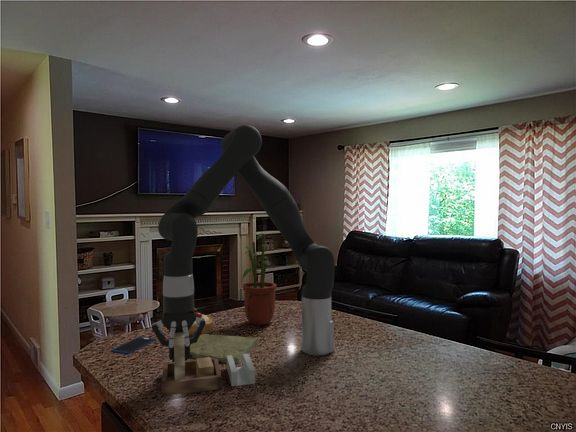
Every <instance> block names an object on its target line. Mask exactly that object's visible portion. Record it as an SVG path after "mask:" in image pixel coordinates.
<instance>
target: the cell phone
mask: <svg viewBox="0 0 576 432" xmlns="http://www.w3.org/2000/svg"><path fill="white" fill-rule="evenodd" d="M155 341H157V339H156V338H153V337H152V338H151V337H144V336H138V337H136V338H133V339H131V340H129V341H127V342H125V343H123V344H120V345H119V346H117V347H115V348H112V349H111V350H110V353H115V354H121V355H130V354H131V355H132V354H133V353H134V352H137V351H138V350H141V349H142V348H145V347H146V346H148V345H150V344H152V343H154V342H155Z"/></svg>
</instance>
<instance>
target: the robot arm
mask: <svg viewBox="0 0 576 432" xmlns="http://www.w3.org/2000/svg"><path fill="white" fill-rule="evenodd" d="M262 144H263V140H262V135H261V133H260V132H259V130H258V129H257V128H256V127H254V126H252V125H249V124H242V125H241V126H240V125H239V126H237V127H236V128H234V129H233V130H230V132H227V134H226V135H225V136H223V138H222V140H221V150H222V154H221V155H220V157H218V159H216V161H215V162H213V164H212V165H211V166H209V168H208V169H206V170H205V172H203V174H201V176H200V177H198V178H197V180H196V181H195V182H194V183H193V184H192V186H191V187H190V188H189V189H188V191H187V192H186V193H185V195H184V196H183V197H182V198H180V199H179V200H178V201H177V202H176V203H174V204H173V205H172V206H171V207H170V208H168V210H166V212H165V213H164V214H163V215H162V216H161V217H160V220H159V222H158V227H157V230H158V233H159V235H160V237H161V238H163V239H164V240H166V241H171V246H170V251H167V252H165V254H164V256H163V281H162V301H163V302H162V306H163V307H162V312H163V314H162V316H161V319H160V320H158V321H157V322H153V323H152V325H151V330H152V332H153V333H154V335H155V336H156V338H157V339H158V340H157V341H159V343H160V345H161V346H162V347H168V358H169V360H170V361H171V362H174V334H175V333H177V332H183V333H184V344H185V361H187V360H188V359H190V358H191V357H190V345H191V344H193V343H196V342H197V340H198V338H199V336H200V334H201V332H202V330H203V328H204V326H205V324H206V322H205V319H204V318H202V319H200V318H198V317H196V314H195V309H194V308H195V282H194V274H193V273H194V272H193V271H194V270H193V269H194V268H193V266H194V265H193V256H194V253H195V249H196V244H197V240H198V239H197V238H198V233H199V231H198V230H199V229H198V225H197V221H196V218H198V217H200V216H204V215H205V214H206V213H207V212H208V211H209V210H210V208H211V206H213V204H214V203H215V202H216V201H217V199H218V198H219V196H220V195H221V193H222V192H223V191H224V190H225V188H226V186H228V184H229V183H230V181H231V180H232V179H233V178H234V177H235V175H236V174H237V173H238V174H239V175H240V176H241V178H243V180H244V181H245V183H246V184H247V186H248V187H249V189H250V190H251V192H252V193H253V195H254V196H255V197H256V199H257V201H258V202H259V204H260V206H261V207H262V209H263V210H264V211H265V213H266V214H267V216H268V217H269V219H270V220H271V221H272V223H273V225H274V226H275V227H276V229H277V230H278V232H279V233H280V234H281V235H282V236H283V238H284V240H285V241H286V242H287V244H288V246H289V247H290V250H291V251H292V253H293V255H294V257H295V259H296V261H297V263H298V265H299V267H300V268H301V269H302V270H303V271H305V272H306V281H305V285H303V286H302V288H301V352H303V353H304V354H306V355H309V356H325V355H326V356H327V355H328V354H330V353H334V352H335V351H334V343H335V342H334V338H335V337H334V327H335V326H334V321H333V320H332V290H333V289H334V285H335V284H334V283H335V263H336V262H335V257H334V253H333V251H332V250H331V249H330V248H329V247H326V246H324V245H320V244H317V243H316V241H315V240H314V239H313V238H312V236H311V235H310V234H309V232H308V231H307V229H306V227H305V225H304V222H303V217H302V215H301V212H300V209H299V208H300V207H299V206H298V204H297V202H296V201H295V199H294V197H293V196H292V194H291V192H290V191H289V190H288V188H287V187H286V186H285V185H284V184H283V183H282V182H280V181H279V180H278V179H277V178H275V177H274V176H272V175H271V174H270V173H268V172H267V171H266V170H265V169H264V168H263V167H262V166H261V165H260V164H259V162H258V160H257V159H256V157H255V156H256V155H257V154H258V153H259V152H260V150H261V147H262ZM195 321H196V326H197V328H196V330H195V332H194V334H193V336H192V337H189V331H188V330H189V329H190V328H191V326H192V325H193V323H194V322H195ZM163 326H164V327H165V328H166V330H167V331H168V332H169V339H167V338H166V336H165V335H164V332H163V331H162V330H163Z"/></svg>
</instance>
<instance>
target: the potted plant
mask: <svg viewBox="0 0 576 432" xmlns="http://www.w3.org/2000/svg"><path fill="white" fill-rule="evenodd" d="M261 237H262V239H261V240H262V241H261V259H260V260H261V262H260V272H259V270H257V256H258V254H257V252H256V242H255V241H253V242H252V244H251V245H252V246H248V245H247V246H244V248H245V249H247V250H248V251H245V252H244V255H247V254H248V257H249V261H250V265H251V267H249V268H247V269H245V270H244V272H243V275H242V278H241V283H242V282H243V280H244V279H245V277H246V276H248V274H249V273H250V272H252V278H253V281H251V282H246V283H243V284H242V289H243V291H244V293H243V294H244V297H243V298H244V312H245V313H244V314H245V318H246V319H247V321H248V322H249V323H250V324H251V325H254V326H266V325H267V324H269V323H270V322H271V321H272V320H273V318H274V315H275V309H276V289H277V283H275V282H270V281H265V277H266V271H267V270H266V269H267V265H269V266H271V265H272V269H273V270H274V269H275V263H274V262H273V261H270V260H268V258H269V256H265V248H266V246H267V244H266V233H259V234H258V235H257V236H256V240H259V238H261ZM269 246H271V244H269ZM251 249H252V250H251ZM257 274H258V275H259V274H260V279H259V281H258V275H257Z"/></svg>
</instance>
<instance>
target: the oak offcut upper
mask: <svg viewBox="0 0 576 432" xmlns="http://www.w3.org/2000/svg"><path fill="white" fill-rule="evenodd" d="M195 360H196V368H197V372H198V375H199V377H205V376H212V375H214V366H213V363H212V361H211V358H210V357H205V358H198V359H196V358H195Z"/></svg>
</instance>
